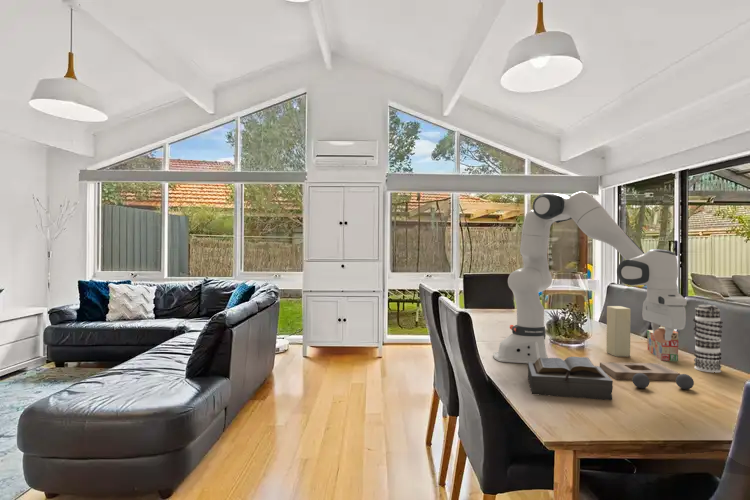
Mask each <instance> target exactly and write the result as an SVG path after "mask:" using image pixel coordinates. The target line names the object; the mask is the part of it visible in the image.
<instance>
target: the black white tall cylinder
mask: <svg viewBox="0 0 750 500" xmlns="http://www.w3.org/2000/svg"><path fill="white" fill-rule="evenodd" d="M694 309H695V316H694V318H693V319H692V321H693V322H694V323H693V331H695V332H694V333H693V336H694V339H695V346H694V347H695V349H694V351H693V353H694V357H695V358H694V359H693V361H694V363H693V365H694V370H697V371H699V372H704V373H705V372H706V373H714V372H715V373H717V374H718V373H722V370H721V369H722V361H721V360H722V357H721V356H722V353H721V347H720V346H721V342H722V339H721V338H722V333H723V331H722V330H721V329H722V328H723V325H722V324H723V321H722V320H721V314H720V313H721V309H719V308H718V306H717V305H714V304H697V306H696V307H695V308H694Z"/></svg>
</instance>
